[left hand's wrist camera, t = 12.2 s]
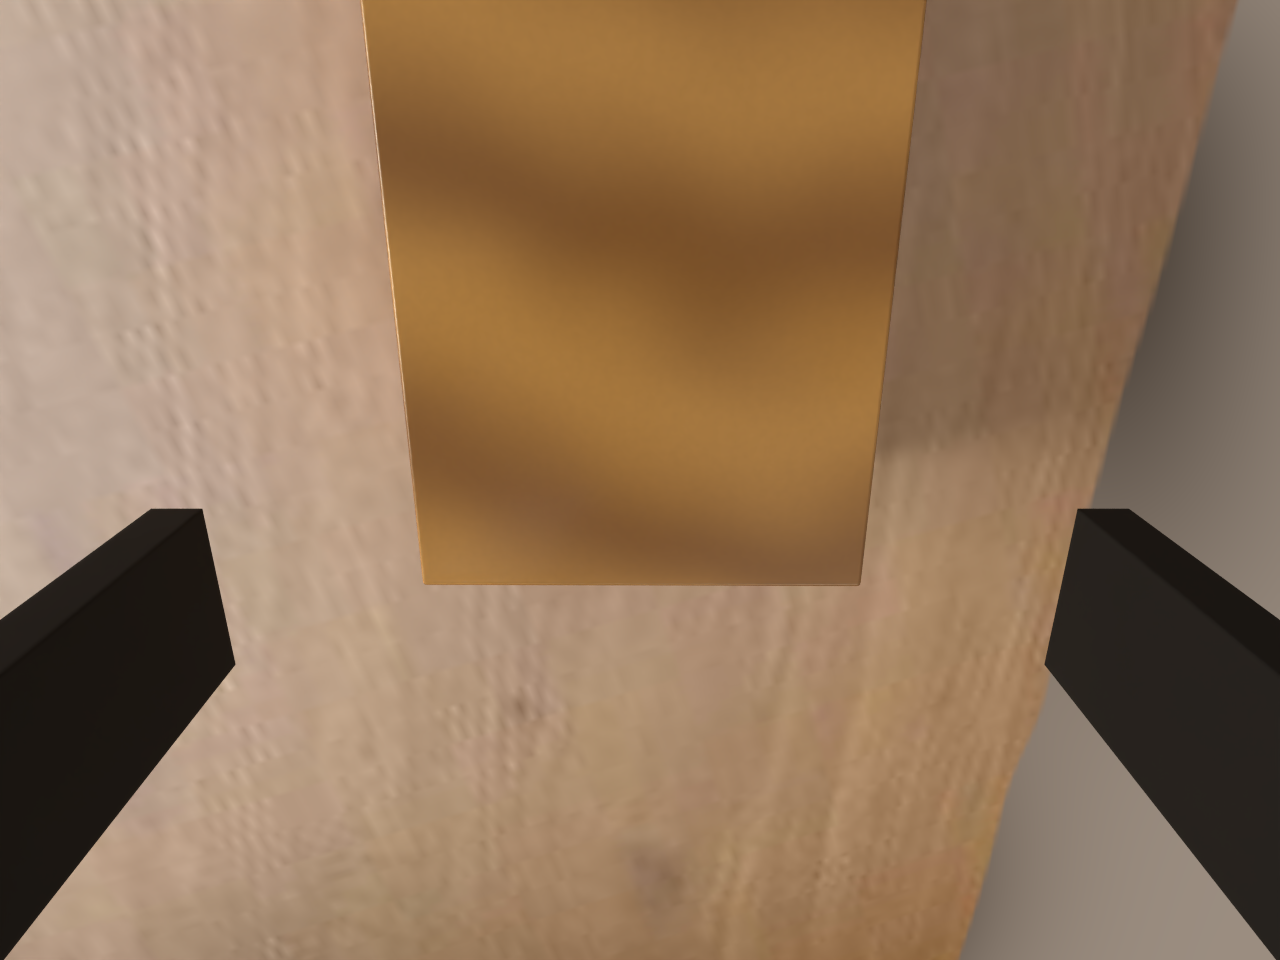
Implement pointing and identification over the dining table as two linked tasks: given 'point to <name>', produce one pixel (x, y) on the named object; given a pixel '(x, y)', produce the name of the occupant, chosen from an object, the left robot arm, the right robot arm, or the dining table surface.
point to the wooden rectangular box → (642, 280)
